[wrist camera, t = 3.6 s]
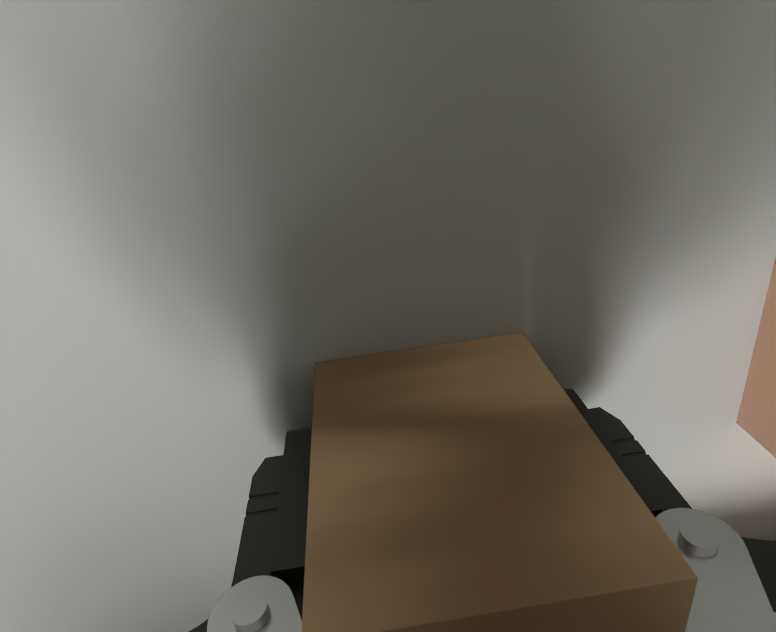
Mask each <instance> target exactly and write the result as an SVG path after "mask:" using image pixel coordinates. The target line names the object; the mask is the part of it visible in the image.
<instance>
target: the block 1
mask: <svg viewBox="0 0 776 632" xmlns="http://www.w3.org/2000/svg"><path fill="white" fill-rule="evenodd" d="M697 580H698V577H697V576H696V574H695V573H694V572H693V570H692V569H691V567H690V566H689V565H688V563H687V562H686V560H685V559H684V558H683V556H682V555H681V553H680V552H679V551H678V549H677V548H676V546H675V545H674V544H673V542H672V541H671V539H670V538H669V537H668V535H667V534H666V532H665V531H664V530H663V528H662V527H661V525H660V524H659V523H658V521H657V520H656V518H655V517H654V516H653V514H652V513H651V511H650V510H649V509H648V507H647V506H646V504H645V503H644V502H643V500H642V499H641V497H640V496H639V495H638V493H637V492H636V490H635V489H634V488H633V486H632V485H631V483H630V482H629V481H628V479H627V478H626V476H625V475H624V474H623V472H622V471H621V469H620V468H619V467H618V465H617V464H616V462H615V461H614V460H613V458H612V457H611V455H610V454H609V453H608V451H607V450H606V448H605V447H604V446H603V444H602V443H601V441H600V440H599V439H598V437H597V436H596V434H595V433H594V432H593V430H592V429H591V427H590V426H589V425H588V423H587V422H586V420H585V419H584V418H583V416H582V415H581V413H580V412H579V411H578V409H577V408H576V406H575V405H574V404H573V402H572V401H571V399H570V398H569V397H568V395H567V394H566V392H565V391H564V390H563V388H562V387H561V385H560V384H559V383H558V381H557V380H556V378H555V377H554V376H553V374H552V373H551V371H550V370H549V369H548V367H547V366H546V364H545V363H544V362H543V360H542V359H541V357H540V356H539V355H538V353H537V352H536V350H535V349H534V348H533V346H532V345H531V343H530V342H529V341H528V339H527V338H526V336H525V335H524V334H523V332H520V333H513V334H506V335H499V336H492V337H486V338H479V339H472V340H465V341H458V342H452V343H445V344H438V345H431V346H424V347H418V348H411V349H404V350H397V351H390V352H383V353H377V354H370V355H363V356H356V357H349V358H343V359H336V360H329V361H322V362H315V377H314V397H313V417H312V436H311V456H310V476H309V495H308V515H307V534H306V554H305V574H304V593H303V613H302V632H685V630H686V626H687V622H688V618H689V614H690V609H691V605H692V601H693V597H694V593H695V589H696V584H697Z"/></svg>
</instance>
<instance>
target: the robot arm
mask: <svg viewBox="0 0 776 632" xmlns="http://www.w3.org/2000/svg"><path fill="white" fill-rule="evenodd" d="M564 391H565V392H566V394H567V395H568V397H569V398H570V399H571V401H572V402H573V404H574V405H575V406H576V408H577V409H578V411H579V412H580V413H581V415H582V416H583V418H584V419H585V420H586V422H587V423H588V425H589V426H590V427H591V429H592V430H593V432H594V433H595V434H596V436H597V437H598V439H599V440H600V441H601V443H602V444H603V446H604V447H605V448H606V450H607V451H608V453H609V454H610V455H611V457H612V458H613V460H614V461H615V462H616V464H617V465H618V467H619V468H620V469H621V471H622V472H623V474H624V475H625V476H626V478H627V479H628V481H629V482H630V483H631V485H632V486H633V488H634V489H635V490H636V492H637V493H638V495H639V496H640V497H641V499H642V500H643V502H644V503H645V504H646V506H647V507H648V509H649V510H650V511H651V513H652V514H653V516H654V517H655V518H656V520H657V521H658V523H659V524H660V525H661V527H662V528H663V530H664V531H665V532H666V534H667V535H668V537H669V538H670V539H671V541H672V542H673V544H674V545H675V546H676V548H677V549H678V551H679V552H680V553H681V555H682V556H683V558H684V559H685V560H686V562H687V563H688V565H689V566H690V567H691V569H692V570H693V572H694V573H695V574H696V576H697V577H698V580H697V584H696V589H695V593H694V597H693V601H692V605H691V609H690V614H689V618H688V622H687V626H686V630H685V632H776V542H774V541H765V540H757V539H750V538H744V537H741V536H739V534H738V533H737V532H736V531H735V530H734V529H733V528H732V527H730V526H729V525H728V524H727V523H725V522H724V521H722V520H721V519H719V518H717V517H715V516H713V515H711V514H708V513H706V512H703V511H699V510H696V509H692V508H691V507H690V505H689V504H688V503H687V502H686V500H685V499H684V498H683V497H682V496H681V494H680V493H679V492H678V491H677V489H676V488H675V487H674V486H673V484H672V483H671V482H670V481H669V480H668V478H667V477H666V476H665V475H664V473H663V472H662V471H661V470H660V468H659V467H658V466H657V465H656V464H655V462H654V461H653V460H652V459H651V457H650V456H649V455H646V453H645V450H644V449H643V448H642V446H641V445H640V444H639V443H638V441H637V440H636V441H635V440H634V436H633V435H632V434H631V433H630V432H629V430H628V429H627V428H626V427H625V425H624V424H623V423H622V422H621V420H619V419H618V418H616V417H614V416H613V415H611V414H610V413H608V412H606V411H605V410H603V409H602V408H600V407H598V408H592V409H588V408H587V407H586V406H585V404H584V403H583V402H582V400H581V399H580V398H579V396H578V395H577V394H576V392H575V391H574V390H573V389H564ZM311 436H312V427H310V428H303V429H297V430H290V431H287V433H286V440H285V448H284V455H281V456H275V457H268V458H265V459H264V461H263V462H262V464H261V465H260V467H259V468H258V470H257V471H256V472H255V474H254V475H253V478H252V483H251V488H250V493H249V500H248V504H247V509H246V517H245V520H244V525H243V530H242V536H241V541H240V546H239V551H238V557H237V562H236V567H235V572H234V578H233V582H232V586H231V588H230V589H229V590H227V591H226V592H225V593H224V594H223V595H222V596H221V598H220V599H219V600H218V601H217V603H216V604H215V606H214V607H213V609H212V611H211V613H210V616H209V619H207V620H206V621H205V622H204V623H202V624H201V625H199V626H198V627H196V628H195V629H193V630H191V631H189V632H302V613H303V593H304V574H305V554H306V534H307V515H308V495H309V476H310V456H311Z"/></svg>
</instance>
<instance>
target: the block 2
mask: <svg viewBox="0 0 776 632" xmlns="http://www.w3.org/2000/svg"><path fill="white" fill-rule="evenodd" d="M736 423H737V424H738V425H739V426H741V427H742V428H743V429H744V430H745V431H746V432H747V433H749V434H750V435H751V436H752V437H753V438H754V439H755V440H756V441H758V442H759V443H760V444H761V445H762V446H763V447H764V448H765V449H767V450H768V451H769V452H770V453H771V454H772V455H773V456H775V457H776V259H775V263H774V267H773V271H772V276H771V280H770V284H769V288H768V292H767V297H766V301H765V305H764V309H763V313H762V317H761V322H760V326H759V330H758V334H757V338H756V343H755V347H754V351H753V355H752V359H751V363H750V368H749V372H748V376H747V380H746V384H745V388H744V393H743V397H742V401H741V405H740V409H739V414H738V418H737V422H736Z"/></svg>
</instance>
